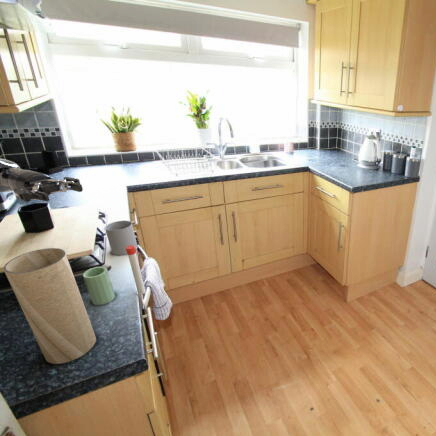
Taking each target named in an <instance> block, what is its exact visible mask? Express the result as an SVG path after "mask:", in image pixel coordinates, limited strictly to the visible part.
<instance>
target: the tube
mask: <svg viewBox="0 0 436 436" xmlns="http://www.w3.org/2000/svg"><path fill="white" fill-rule="evenodd" d="M3 271H4V273H5V276H6V278H7V280H8V282H9V284H10V287H11V288H12V290H13V294H14V295H15V297H16V300H17V302H18V303H19V306H20V308H21V310H22V313H23V314H24V317H25V319H26V320H27V323H28V324H29V327H30V329H31V331H32V333H33V336H34V338H35V340H36V342H37V344H38V346H39V348H40V351H41V353H42V355H43V357H44V359H45V361H46V362H47V363H50V364H53V365H61V364H65V363H70V362H72V361H75V360H77V359H79V358H81V357H82V356H84V355H86V354H87V353H88V352H89V351H91V349H92V348H94V345H95V344H96V342H97V337H96V334H95V331H94V328H93V325H92V323H91V320H90V317H89V314H88V312H87V309H86V306H85V304H84V300H83V298H82V295H81V292H80V289H79V287H78V284H77V281H76V279H75V276H74V273H73V270H72V266H71V264H70V262H69V259H68V256H67V253H66V251H65V250H64V249H62V248H57V247H49V248H41V249H36V250H32V251H28V252H25V253H22V254H20V255H18V256H15V257H14V258H11V259H10V260H8V261H7V262H6V263H4V266H3Z"/></svg>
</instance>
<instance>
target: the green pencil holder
mask: <svg viewBox="0 0 436 436" xmlns="http://www.w3.org/2000/svg"><path fill="white" fill-rule="evenodd" d="M82 278H83V281H84V283H85V286H86V289H87V292H88V295H89V298H90V301H91V303H92V304H93V305H94V306H101V305H102V306H103V305H105V304H108V303H110V302H112V301H113V300H114V299H115V296H116V294H115V290H114V287H113V285H112V281H111V277H110V274H109V272H108V268H107V267H106V266H94V267H91V268H89V269H87V270H85V271H84V272H83V274H82Z"/></svg>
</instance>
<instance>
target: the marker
mask: <svg viewBox="0 0 436 436" xmlns="http://www.w3.org/2000/svg"><path fill="white" fill-rule="evenodd" d="M126 251H127V254H126V255H127V257H128V260H129V264H130V268H131V272H132V276H133V279H134V280H133V281H134V283H135V287H136V290H137V294H138V295H144V294H145V293H146V288H145V283H144V280H143V276H142V271H141V267H140V263H139V260H138V255H137V249H136V250H135V246H133V245H131V246H127V247H126Z"/></svg>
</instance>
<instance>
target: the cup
mask: <svg viewBox="0 0 436 436" xmlns="http://www.w3.org/2000/svg"><path fill="white" fill-rule="evenodd" d="M104 230H105V233H106V238H107V240H108V244H109V248H110V250H111V254H112V255H116V256H125V255H128V254H127V251H126V247H127V246H131V245H133V246H135V250H136V251H137V250H138V248H139V247H138V242H137V239H136V234H135V230H134V226H133V222H132V221H130V220H117V221H113V222H111V223H108V224H107V225H105V227H104Z"/></svg>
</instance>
